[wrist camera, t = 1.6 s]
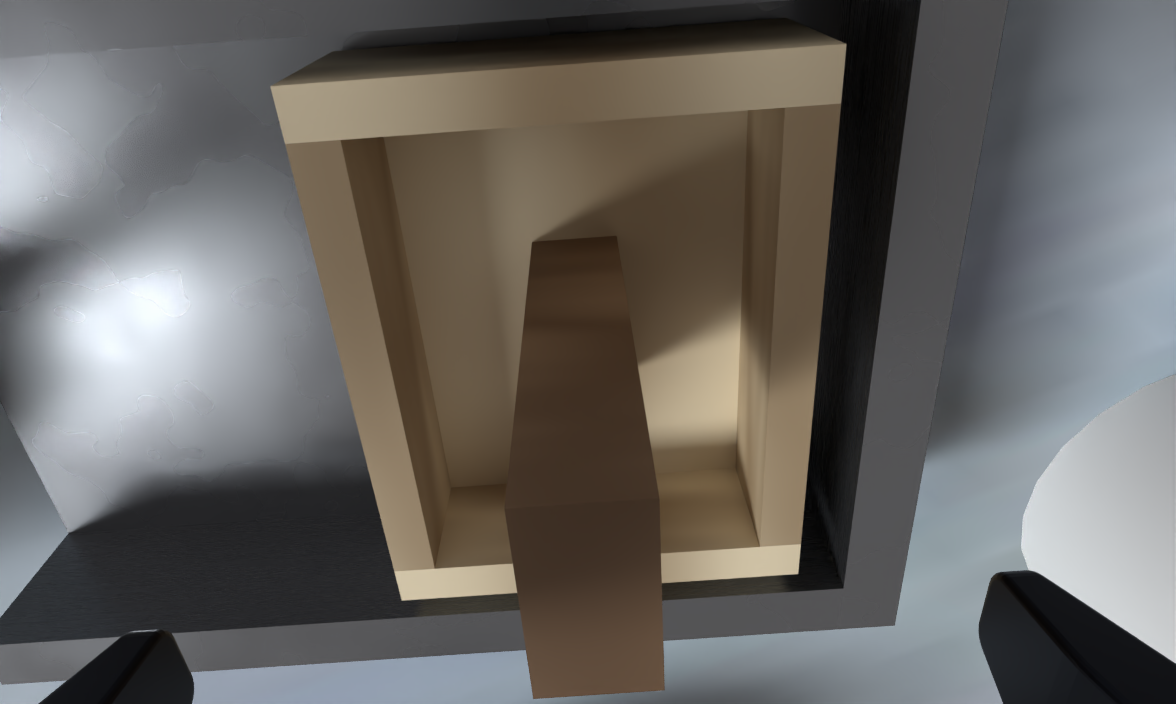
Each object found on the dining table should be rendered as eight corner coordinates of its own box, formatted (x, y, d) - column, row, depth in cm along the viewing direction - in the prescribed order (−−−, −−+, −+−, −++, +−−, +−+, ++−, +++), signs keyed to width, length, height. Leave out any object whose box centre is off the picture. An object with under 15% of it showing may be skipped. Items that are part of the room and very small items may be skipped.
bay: (110, 547, 21) (6, 690, 17) (-178, -41, 14) (-464, -26, 10) (831, 498, 20) (893, 632, 17) (901, -123, 14) (1033, -139, 10)
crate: (427, 494, 19) (337, 871, 11) (332, 51, 14) (61, 203, 6) (761, 472, 18) (891, 835, 11) (786, 18, 14) (1048, 131, 6)
